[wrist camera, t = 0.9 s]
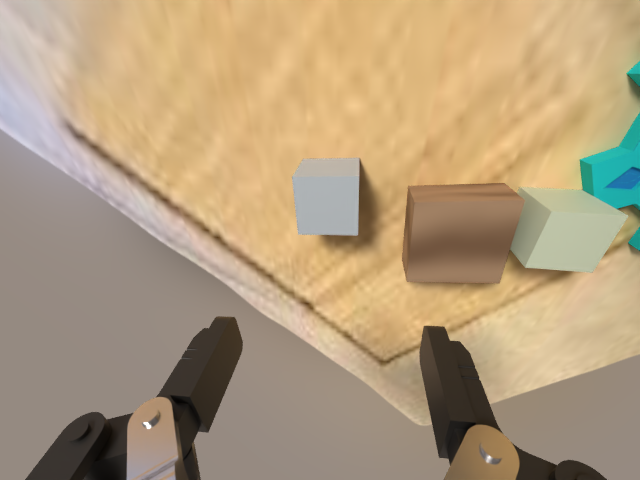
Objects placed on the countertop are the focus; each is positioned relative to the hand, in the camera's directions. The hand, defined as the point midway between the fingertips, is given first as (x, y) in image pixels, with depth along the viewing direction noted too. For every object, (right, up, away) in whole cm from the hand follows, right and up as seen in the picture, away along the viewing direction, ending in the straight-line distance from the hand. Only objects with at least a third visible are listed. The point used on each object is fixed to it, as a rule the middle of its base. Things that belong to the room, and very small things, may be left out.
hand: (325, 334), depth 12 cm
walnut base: (+12, +6, +15) cm, 20 cm away
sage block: (+22, +5, +11) cm, 25 cm away
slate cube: (+1, +9, +14) cm, 17 cm away
